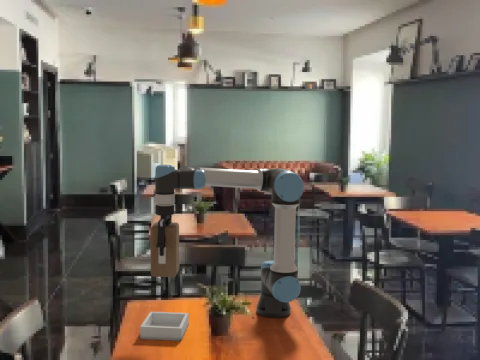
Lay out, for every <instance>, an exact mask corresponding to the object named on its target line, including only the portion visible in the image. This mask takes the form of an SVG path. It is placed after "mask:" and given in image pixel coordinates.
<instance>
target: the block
mask: <svg viewBox="0 0 480 360" xmlns="http://www.w3.org/2000/svg"><path fill="white" fill-rule="evenodd" d="M149 232H150V234H149V235H150V238H149V239H150V240H149V241H150V276H151V277H154V278H155V277H156V278H175V277H177V275H178V273H179V270H180V224H179V222H172V223H170V224H169V225H168V226H165V239H166V242H165V247H166V264H159V249H158V247H156V245H157V239H158V221H157V222H154V223H153V225H151V227H150V231H149ZM160 244H162V243H160Z"/></svg>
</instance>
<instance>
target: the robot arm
mask: <svg viewBox="0 0 480 360" xmlns="http://www.w3.org/2000/svg"><path fill="white" fill-rule="evenodd" d="M154 171H155V172H154V174H155V175H154V184H155V185H154V188H155V189H154V190H155V195H154V196H153V198H154V199H155V204H156V205H155V207H154V208H155V209H154V210H155V215H156V216H160V219H159V220H158V221H157V222H158V239H157V245H156V247H158V249H159V264H166V247H165V242H166V239H165V226H168V225H169V224H170V223H173V222H172V220H173V219H172V216H173V215H175V212H176V211H175V208H176V206H175V203H176V198H175V197H176V194H175V190H200V189H204V188H205V186H206V187H222V188H239V189H240V188H241V189H256V190H257V191H258V192H266V193H269V194H271V204H272V205H273V207H274V229H273V230H274V234H273V236H274V238H273V241H274V242H273V260H265V261H262V263H261V266H260V271H261V272H260V295H259V299H258V300H257V304H256V313H257V315H259V316H262V317H265V318H272V319H273V318H274V319H278V318H279V319H280V318H284V317H287V316H289V315H290V314H291V305H290V302H293V301H294V300H296V299H297V298H298V297H299V295H300V294H301V290H302V287H301V286H302V285H301V283H300V280H299V279H298V277H299V271H298V269H299V268H298V267H297V266H296V263H295V257H296V256H295V255H296V254H295V253H296V251H295V250H296V248H295V247H296V223H297V222H296V218H297V217H296V216H297V207H299V206H300V205H301V204H300V203H301V197H302V195H303V194H304V191H305V185H304V181H303V179H302V177H301V176H300V175H299V174H297V173H296V172H294V171H292V170H288V169H285V168H258V170H250V169H249V170H246V169H229V168H217V167H216V168H214V167H211V168H210V167H194V166H189V165H184V166H181V167H180V168H179V169H176V168H175V165H173V164H159V165H156V166H155V170H154ZM160 243H162V244H160Z"/></svg>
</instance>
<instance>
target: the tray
mask: <svg viewBox="0 0 480 360" xmlns="http://www.w3.org/2000/svg"><path fill="white" fill-rule="evenodd" d="M189 314H190V313H189V312H170V311H169V312H166V311H149V313H148V315H147V316H146V318H145V319H144V320H143V322H142V324H141V325H140V328H139V330H140V331H139V333H140V334H139V337H140V338H139V339H140V340H153V341H154V340H156V341H158V340H159V341H175V342H176V341H178V342H182V340H183V339H184V337H185V335H186V332H187V330H188V327H189V323H190V317H189V316H190V315H189Z"/></svg>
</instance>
